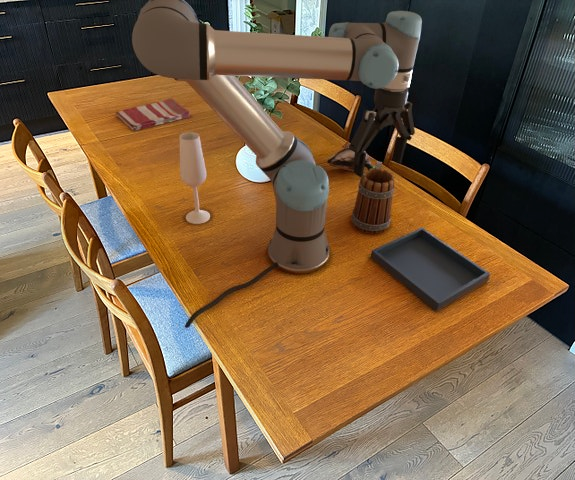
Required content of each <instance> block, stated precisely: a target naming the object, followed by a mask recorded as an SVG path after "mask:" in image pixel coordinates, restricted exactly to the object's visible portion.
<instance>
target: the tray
mask: <svg viewBox="0 0 575 480" xmlns="http://www.w3.org/2000/svg"><path fill="white" fill-rule="evenodd" d="M370 259H371V260H372V261H373V262H375V263H376V265H378V266H379V267H381V268H382V269H383V270H384V271H386V272H387V273H389V274H390V275H391V276H392V277H393V278H394V279H396V280H397V281H398V282H399V283H400V284H402V285H403V286H405V287H406V288H407V289H408V290H409V291H411V292H412V293H413V294H414V295H415V296H416V297H418V298H419V299H421V300H422V301H423V302H424V303H425V304H427V306H429V307H431V309H433V310H434V311H435V312H438V311H439V310H442V309H443V308H445V307H446V306H448V305H450V304H452V303H453V302H454V301H456V300H459V299H460V298H462V297H463V296H464V295H467V294H468V293H470V292H472V291H473V290H475V289H476V288H478V287H480V286H482V285H483V284H485V283H487V282H488V281H489V279H490V275H491V272H489V271H487V270H486V269H485V268H484V267H481V265H479V264H477V263H476V262H474V261H473V260H471V259H469V258H468V257H467V256H465V255H464V254H462V253H460V252H459V251H458V250H456V249H455V248H453V247H452V246H451V245H449V244H447V243H446V242H445V241H443V240H442V239H440V238H439V237H437V236H436V235H434V234H433V233H431V232H430V231H429V230H427V229H426V228H424V227H420V228H417V229H415V230H413V231H411V232H408V233H407V234H404V235H402V236H400V237H397V238H396V239H393V240H391V241H389V242H387V243H385V244H382V245H381V246H378V247H376V248H374V249H372V250H371V252H370Z"/></svg>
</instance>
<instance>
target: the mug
mask: <svg viewBox="0 0 575 480" xmlns="http://www.w3.org/2000/svg"><path fill="white" fill-rule="evenodd" d="M382 167H383V162H382V161H376V162H375V169H374V168H371V169H369V170H368V169H365V170H364V171H363V177H360V180H359V182H358V188H357V189H358V190H357V195H356V198H355V202H354V207H353V210H352V213H351V223H352V225H353V226H354V227H355V228H356V229H357V230H359V231H360V232H363V233H366V234H373V235H374V234H379V233H380V234H381V233H383V232H386V231H387V229H389V227H390V224H391V220H392V215H391V213H392V206H393V205H392V204H393V197H394V193H395V176H394V175H393V173H392V172H389V171H388V170H387V169H382Z"/></svg>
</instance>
